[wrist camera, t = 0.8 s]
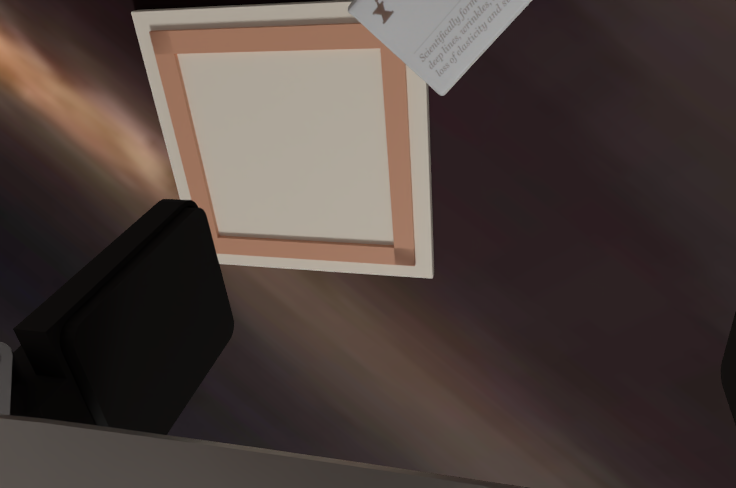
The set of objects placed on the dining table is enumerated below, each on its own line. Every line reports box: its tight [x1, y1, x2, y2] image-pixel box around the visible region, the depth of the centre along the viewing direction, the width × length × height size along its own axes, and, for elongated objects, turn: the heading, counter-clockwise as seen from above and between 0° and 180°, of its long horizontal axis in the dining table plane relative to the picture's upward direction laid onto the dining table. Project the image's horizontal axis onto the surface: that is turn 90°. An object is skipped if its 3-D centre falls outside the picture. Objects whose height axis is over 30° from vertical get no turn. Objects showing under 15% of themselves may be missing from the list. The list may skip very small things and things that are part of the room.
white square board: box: [131, 0, 434, 279], centre depth 35 cm, size 16×16×1 cm
